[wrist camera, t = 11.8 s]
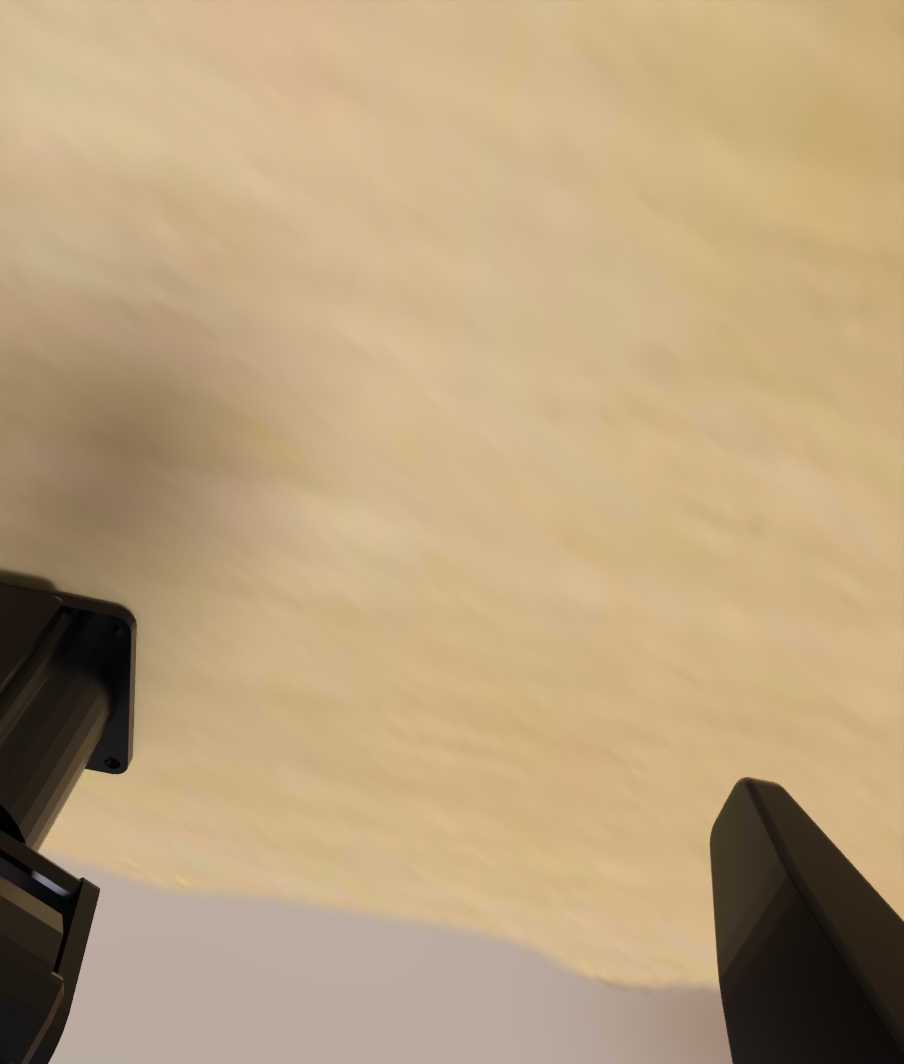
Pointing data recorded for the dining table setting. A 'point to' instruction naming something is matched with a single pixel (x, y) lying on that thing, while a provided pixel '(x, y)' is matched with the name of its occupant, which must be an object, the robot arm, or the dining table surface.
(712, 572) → the dining table surface
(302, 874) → the dining table surface
